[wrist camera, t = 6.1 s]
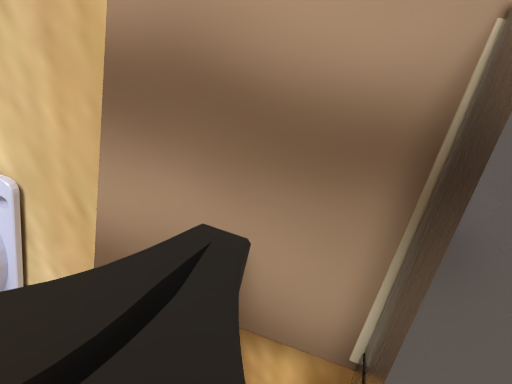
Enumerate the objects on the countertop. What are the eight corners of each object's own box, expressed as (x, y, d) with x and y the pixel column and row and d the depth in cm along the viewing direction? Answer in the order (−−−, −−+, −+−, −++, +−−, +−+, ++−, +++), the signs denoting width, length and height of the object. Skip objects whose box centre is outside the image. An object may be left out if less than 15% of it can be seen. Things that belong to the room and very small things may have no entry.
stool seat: (443, 347, 14) (456, 411, 12) (133, 238, 16) (92, 274, 14) (662, -42, 9) (762, -66, 7) (169, -136, 11) (113, -180, 8)
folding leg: (526, -39, 7) (591, -67, 5) (678, -12, 7) (818, -29, 5) (350, 381, 12) (345, 461, 10) (435, 412, 12) (450, 503, 10)
